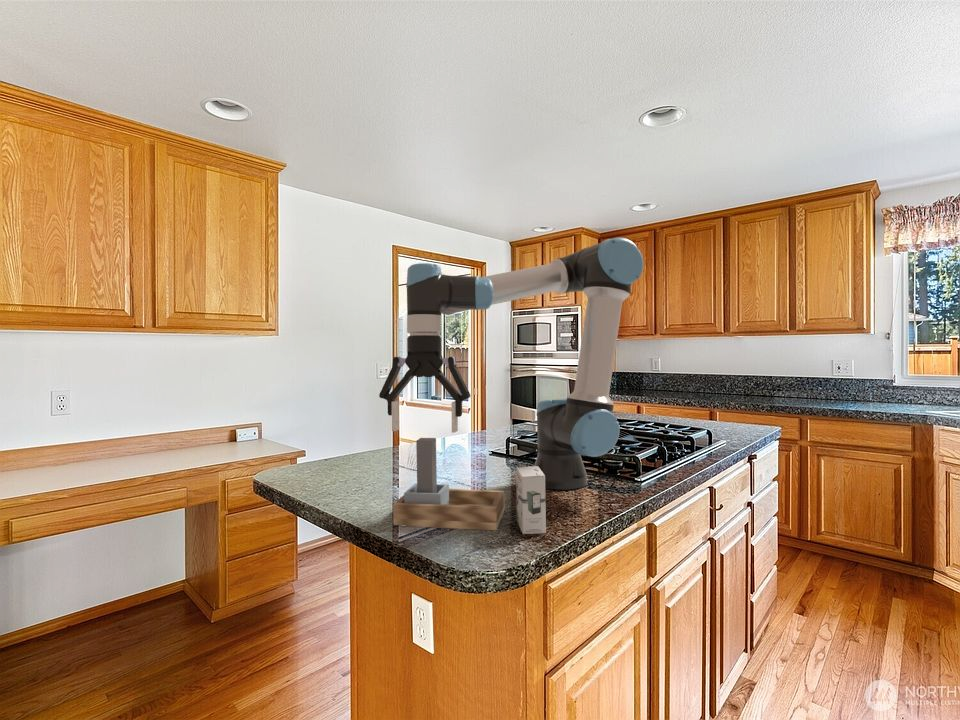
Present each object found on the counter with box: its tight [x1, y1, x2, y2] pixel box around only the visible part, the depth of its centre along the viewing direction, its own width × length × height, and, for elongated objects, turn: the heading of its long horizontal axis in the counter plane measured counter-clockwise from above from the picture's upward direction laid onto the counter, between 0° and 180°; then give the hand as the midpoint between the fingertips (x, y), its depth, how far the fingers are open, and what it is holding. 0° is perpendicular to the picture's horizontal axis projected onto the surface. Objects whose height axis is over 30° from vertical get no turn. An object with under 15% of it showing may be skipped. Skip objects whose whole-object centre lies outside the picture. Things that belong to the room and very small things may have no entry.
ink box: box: [515, 465, 547, 535], centre depth 104 cm, size 9×5×12 cm, turn 5°
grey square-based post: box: [403, 437, 450, 505], centre depth 112 cm, size 8×8×15 cm
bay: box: [392, 488, 505, 531], centre depth 111 cm, size 22×13×4 cm, turn 80°
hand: (424, 431), depth 111 cm, fingers open, 13 cm apart
